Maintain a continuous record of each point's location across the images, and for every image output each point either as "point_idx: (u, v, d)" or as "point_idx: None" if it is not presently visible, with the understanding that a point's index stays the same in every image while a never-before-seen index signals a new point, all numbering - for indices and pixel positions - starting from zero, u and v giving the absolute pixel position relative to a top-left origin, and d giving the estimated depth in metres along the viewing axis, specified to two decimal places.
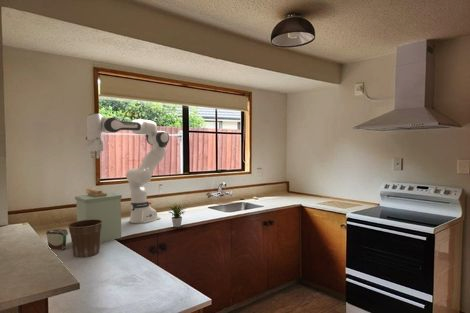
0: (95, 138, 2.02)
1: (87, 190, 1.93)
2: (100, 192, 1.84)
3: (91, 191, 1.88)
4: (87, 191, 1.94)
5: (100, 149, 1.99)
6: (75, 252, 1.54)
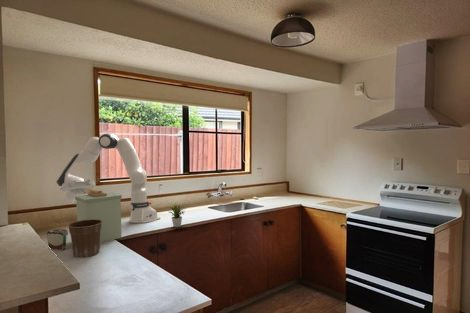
0: None
1: (87, 190, 1.93)
2: (100, 192, 1.84)
3: (91, 191, 1.88)
4: (87, 191, 1.94)
5: (63, 185, 2.02)
6: (75, 252, 1.54)
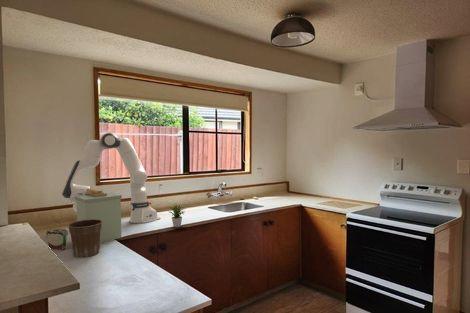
0: None
1: None
2: (100, 192, 1.84)
3: (91, 191, 1.88)
4: None
5: (71, 196, 1.90)
6: (75, 252, 1.54)
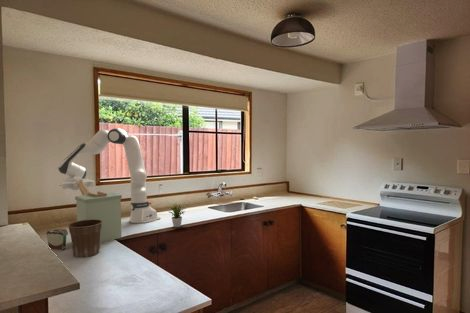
0: None
1: None
2: None
3: (81, 190, 2.01)
4: None
5: (62, 186, 2.03)
6: (75, 252, 1.54)
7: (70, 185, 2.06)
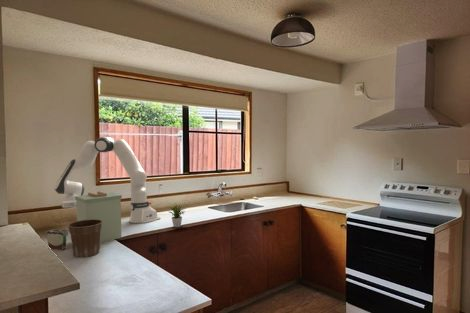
0: None
1: None
2: None
3: None
4: None
5: (63, 205, 2.03)
6: (75, 252, 1.54)
7: (70, 204, 2.06)
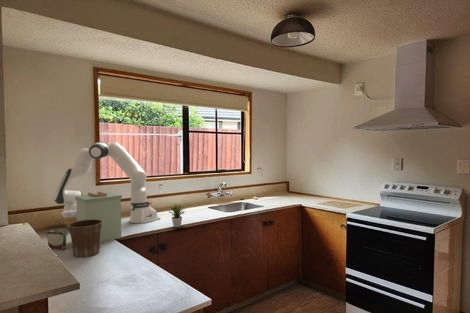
0: None
1: None
2: None
3: None
4: None
5: (63, 215, 2.04)
6: (75, 252, 1.54)
7: None
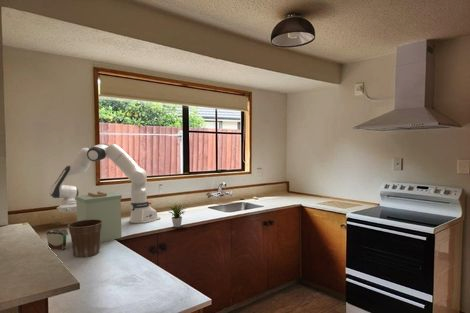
0: None
1: None
2: None
3: None
4: None
5: (60, 210, 2.12)
6: (75, 252, 1.54)
7: None
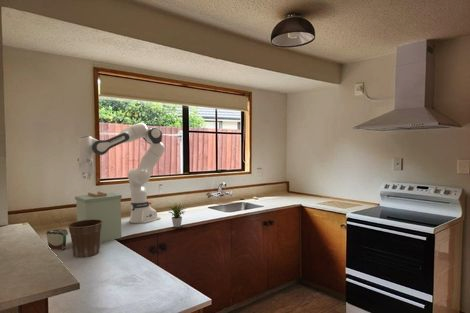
0: (86, 160, 2.12)
1: None
2: None
3: None
4: None
5: (91, 171, 2.09)
6: (75, 252, 1.54)
7: None
